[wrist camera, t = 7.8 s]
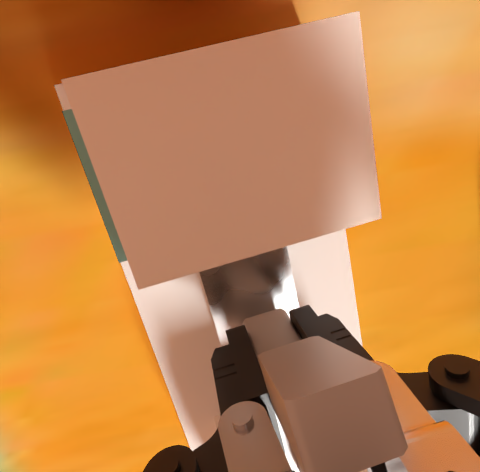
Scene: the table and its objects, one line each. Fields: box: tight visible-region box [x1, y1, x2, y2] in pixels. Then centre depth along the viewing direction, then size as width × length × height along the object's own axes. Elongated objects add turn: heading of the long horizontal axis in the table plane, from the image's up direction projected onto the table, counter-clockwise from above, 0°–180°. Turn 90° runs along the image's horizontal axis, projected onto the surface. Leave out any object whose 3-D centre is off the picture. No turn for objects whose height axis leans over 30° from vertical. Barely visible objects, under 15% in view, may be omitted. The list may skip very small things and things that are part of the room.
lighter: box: [242, 308, 408, 472], centre depth 10 cm, size 7×2×8 cm, turn 14°
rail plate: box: [54, 83, 362, 451], centre depth 16 cm, size 9×20×1 cm, turn 14°
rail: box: [199, 246, 299, 346], centre depth 15 cm, size 4×19×1 cm, turn 14°
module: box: [61, 11, 382, 290], centre depth 10 cm, size 6×4×6 cm
